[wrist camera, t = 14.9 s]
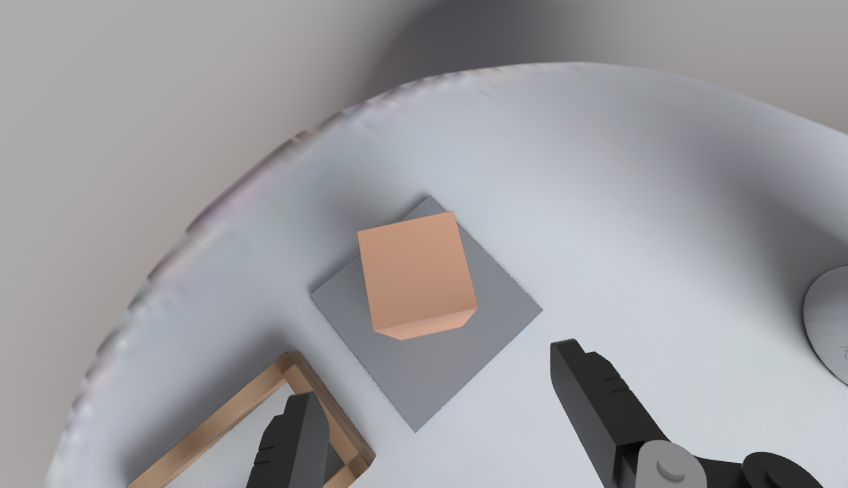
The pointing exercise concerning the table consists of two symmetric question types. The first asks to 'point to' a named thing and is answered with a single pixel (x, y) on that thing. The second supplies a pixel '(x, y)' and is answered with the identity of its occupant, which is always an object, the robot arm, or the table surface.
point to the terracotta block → (417, 276)
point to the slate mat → (433, 353)
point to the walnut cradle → (250, 397)
